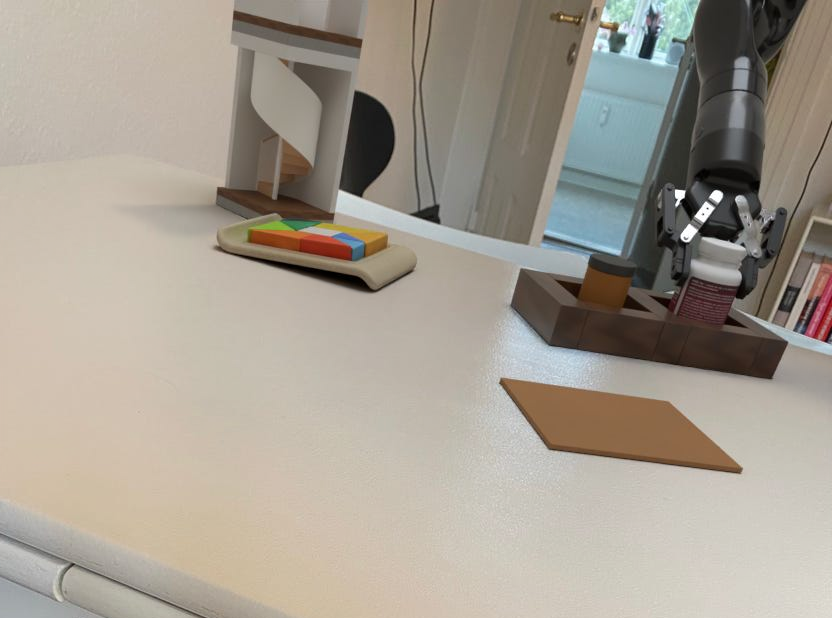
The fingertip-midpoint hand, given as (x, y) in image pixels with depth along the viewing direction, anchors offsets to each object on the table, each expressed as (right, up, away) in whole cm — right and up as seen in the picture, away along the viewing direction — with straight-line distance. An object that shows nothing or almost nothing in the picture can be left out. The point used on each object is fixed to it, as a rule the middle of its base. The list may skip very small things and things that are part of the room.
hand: (712, 288), depth 95 cm
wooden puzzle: (-42, +6, +8) cm, 43 cm away
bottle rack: (-7, -4, +4) cm, 9 cm away
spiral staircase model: (-48, +18, +23) cm, 57 cm away
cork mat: (-17, -20, -21) cm, 33 cm away
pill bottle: (-1, -5, +5) cm, 7 cm away
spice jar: (-12, -4, +3) cm, 13 cm away
